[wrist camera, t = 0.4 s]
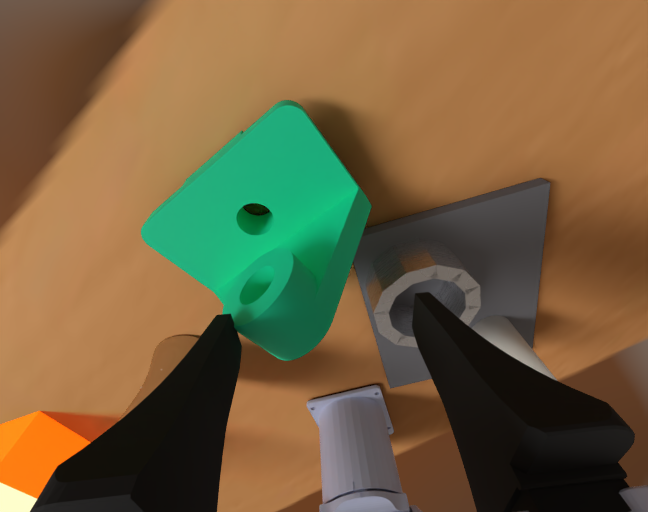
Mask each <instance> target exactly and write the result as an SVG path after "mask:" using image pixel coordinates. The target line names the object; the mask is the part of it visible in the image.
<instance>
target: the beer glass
mask: <svg viewBox="0 0 648 512" xmlns="http://www.w3.org/2000/svg"><path fill="white" fill-rule="evenodd" d="M198 339H199V337H195V336H189V335H179V336H173V337H170V338H167V339H165V340H163V341H162V342H160V343H159V344H158V345H157V347H156V348H155V350H154V353H153V356H152V360H151V364H150V368H149V371H148V374H147V377H146V379H145V381H144V384H143V385H142V387H141V389H140V391H139V392H138V394H137V395H136V397H135V398H134V400H133V401H132V402H131V404H130V405H129V407H128V408H127V409H126V411H125V412H124V413H123V415H122V416H121V417H120V419H119V420H118V421H120V420H121V419H122V418H123V417H125V416H126V415H127V414H128V413H129V412H130V411H131V410H133V409H134V408H135V407H136V406H137V405H138V404H139V403H140V402H142V401H143V400H144V399H145V398H146V397H147V396H148V395H149V394H150V393H151V392H152V391H153V390H154V389H155V388H156V387H157V386H158V385H160V384H161V382H162V381H163V380H164V379H165V378H166V377H167V376H168V375H169V374H170V373H171V372H172V371H173V369H174V368H175V367H176V366H177V365H178V364H179V363H180V361H181V360H182V359H183V358H184V357H185V355H186V354H187V353H188V352H189V350H190V349H191V348H192V347H193V345H194V344H195V343H196V342H197V340H198Z"/></svg>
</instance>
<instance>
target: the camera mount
mask: <svg viewBox="0 0 648 512" xmlns="http://www.w3.org/2000/svg"><path fill="white" fill-rule="evenodd" d="M250 203H258V204H261V205H264V206H266V207H267V208H268V209H269V210H270V211H269V212H268V213H267V214H264V215H260V216H257V215H252V214H250V213H248V212H247V211H246V210H245V209H244V208H243V206H244V205H247V204H250ZM371 207H372V206H371V204H370V202H369V200H368V199H367V197H366V195H365V194H364V192H363V191H362V190H361V188H360V187H359V185H358V184H357V183H356V181H355V180H354V178H353V177H352V176H351V174H350V173H349V171H348V170H347V169H346V167H345V166H344V164H343V163H342V162H341V160H340V159H339V157H338V156H337V155H336V153H335V152H334V150H333V149H332V148H331V146H330V145H329V143H328V142H327V141H326V139H325V138H324V136H323V135H322V134H321V132H320V131H319V130H318V128H317V127H316V125H315V124H314V123H313V121H312V120H311V118H310V117H309V116H308V114H307V113H306V111H305V110H304V109H303V107H302V106H301V105H299V104H298V103H296V102H294V101H291V100H284V101H280V102H278V103H277V104H275V105H274V106H273V107H272V108H271V109H270V110H268V111H267V112H266V113H265V114H264V115H263V116H262V117H261V118H259V119H258V120H257V121H256V122H255V123H254V124H253V125H251V126H250V127H249V128H248V129H247V130H246V131H245V132H243V131H241V132H240V133H239V134H237V135H236V136H235V137H234V138H233V139H232V140H231V141H229V142H228V143H227V144H226V145H225V146H224V147H223V148H222V149H220V150H219V151H218V152H217V153H216V154H215V155H214V156H212V157H211V158H210V159H209V160H208V161H207V162H206V163H204V164H203V165H202V166H201V167H200V168H199V169H198V170H197V171H195V172H194V173H193V174H192V175H191V176H190V177H189V178H187V179H186V181H185V183H184V184H183V186H182V187H181V188H180V189H178V190H177V191H176V192H175V193H174V194H173V195H172V196H170V197H169V198H168V199H167V200H166V201H165V202H164V203H163V204H161V205H160V206H159V207H158V208H157V209H156V210H155V211H153V212H152V214H151V215H150V217H149V218H148V219H147V221H146V222H145V224H144V225H143V227H142V229H141V235H142V238H143V240H144V241H145V242H146V244H148V245H149V246H150V247H152V248H153V249H154V250H156V251H157V252H159V253H160V254H161V255H163V256H164V257H166V258H167V259H168V260H170V261H171V262H173V263H174V264H175V265H177V266H178V267H180V268H181V269H182V270H184V271H185V272H186V273H188V274H189V275H191V276H192V277H193V278H195V279H196V280H198V281H199V282H200V283H202V284H203V285H205V286H206V287H207V288H209V289H210V290H212V291H213V292H214V293H215V294H216V295H217V297H218V298H219V299H220V301H221V302H222V303H223V304H224V307H223V314H231V315H232V318H233V321H234V328H235V329H236V330H237V332H239V333H240V334H242V335H243V336H245V337H246V338H248V339H249V340H251V341H252V342H254V343H255V344H257V345H258V346H260V347H261V348H263V349H264V350H266V351H267V352H269V353H270V354H272V355H273V356H275V357H276V358H278V359H280V360H285V361H289V360H294V359H297V358H300V357H302V356H304V355H305V354H307V353H308V352H310V351H311V350H312V349H313V348H314V347H316V346H317V344H318V343H319V342H320V341H321V340H322V339H323V337H324V336H325V335H326V333H327V331H328V330H329V328H330V326H331V323H332V321H333V318H334V315H335V312H336V309H337V307H338V304H339V301H340V298H341V295H342V292H343V289H344V286H345V283H346V280H347V277H348V274H349V272H350V269H351V266H352V263H353V260H354V257H355V254H356V251H357V248H358V245H359V242H360V239H361V236H362V234H363V231H364V228H365V225H366V222H367V219H368V216H369V213H370V210H371Z"/></svg>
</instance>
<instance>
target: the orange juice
mask: <svg viewBox="0 0 648 512" xmlns="http://www.w3.org/2000/svg"><path fill="white" fill-rule="evenodd" d="M90 443H91V442H89V441H87V440H86V439H84V438H83V437H81V436H79V435H78V434H76V433H74V432H73V431H71V430H70V429H68V428H66V427H65V426H63V425H61V424H60V423H58V422H57V421H55V420H53V419H52V418H50V417H48V416H47V415H45V414H44V413H42V412H40V411H38V412H35V413H32V414H29V415H27V416H24V417H21V418H18V419H15V420H12V421H9V422H6V423H4V424H1V425H0V512H30V510H31V509H32V507H33V505H34V504H35V502H36V500H37V499H38V497H39V495H40V494H41V492H42V490H43V489H44V487H45V485H46V484H47V482H48V480H49V479H50V477H51V475H52V474H53V472H54V471H55V469H56V467H57V466H58V465H60V464H61V463H63V462H64V461H66V460H67V459H68V458H70V457H71V456H73V455H74V454H76V453H77V452H78V451H80V450H81V449H83V448H84V447H86V446H87V445H88V444H90Z"/></svg>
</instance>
